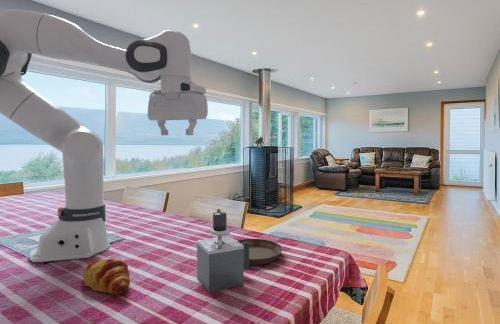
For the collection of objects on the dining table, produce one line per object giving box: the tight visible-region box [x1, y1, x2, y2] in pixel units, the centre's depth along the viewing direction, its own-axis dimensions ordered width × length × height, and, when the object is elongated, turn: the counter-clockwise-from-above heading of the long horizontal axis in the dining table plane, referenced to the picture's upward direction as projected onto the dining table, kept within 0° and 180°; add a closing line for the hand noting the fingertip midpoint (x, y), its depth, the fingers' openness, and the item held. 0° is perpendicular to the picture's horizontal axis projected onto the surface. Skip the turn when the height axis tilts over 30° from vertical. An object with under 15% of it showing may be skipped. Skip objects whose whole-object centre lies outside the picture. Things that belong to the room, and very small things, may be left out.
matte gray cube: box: [196, 235, 250, 294], centre depth 82 cm, size 12×9×10 cm
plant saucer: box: [236, 238, 283, 266], centre depth 100 cm, size 18×18×3 cm
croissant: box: [83, 257, 131, 295], centre depth 80 cm, size 21×10×8 cm, turn 46°
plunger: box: [208, 211, 231, 245], centre depth 81 cm, size 5×5×15 cm
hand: (176, 135), depth 97 cm, fingers open, 8 cm apart
